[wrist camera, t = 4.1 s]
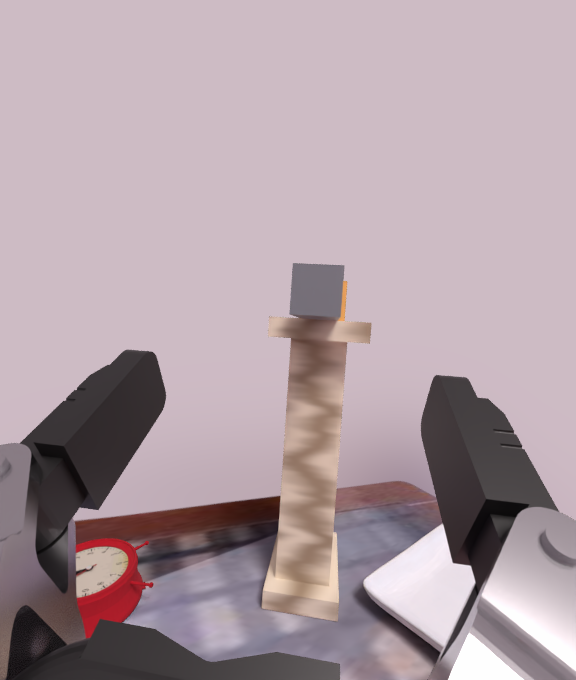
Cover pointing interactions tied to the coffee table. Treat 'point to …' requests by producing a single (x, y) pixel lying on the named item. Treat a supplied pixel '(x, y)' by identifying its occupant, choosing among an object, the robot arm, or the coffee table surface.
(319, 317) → the orange-tipped gray rod
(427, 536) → the salad plate
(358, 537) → the coffee table surface
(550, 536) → the robot arm
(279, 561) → the stand
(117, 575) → the alarm clock
